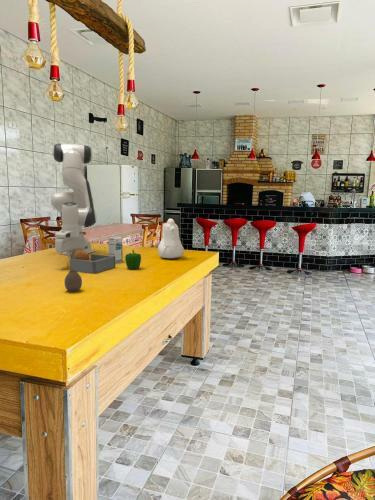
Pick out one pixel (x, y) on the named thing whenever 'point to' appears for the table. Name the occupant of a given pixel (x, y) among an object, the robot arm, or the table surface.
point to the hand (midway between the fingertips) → (71, 258)
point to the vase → (73, 281)
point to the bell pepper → (133, 260)
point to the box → (93, 264)
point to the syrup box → (115, 248)
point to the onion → (80, 255)
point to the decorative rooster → (170, 241)
